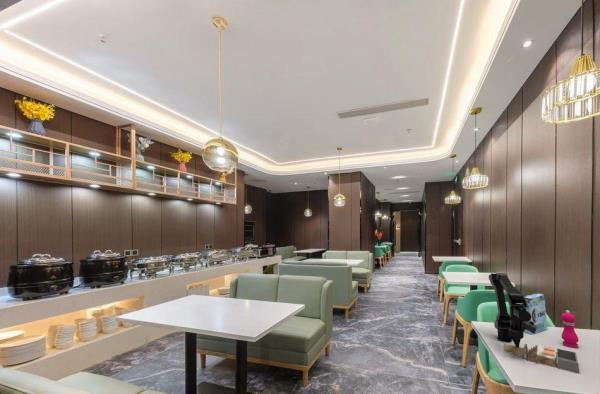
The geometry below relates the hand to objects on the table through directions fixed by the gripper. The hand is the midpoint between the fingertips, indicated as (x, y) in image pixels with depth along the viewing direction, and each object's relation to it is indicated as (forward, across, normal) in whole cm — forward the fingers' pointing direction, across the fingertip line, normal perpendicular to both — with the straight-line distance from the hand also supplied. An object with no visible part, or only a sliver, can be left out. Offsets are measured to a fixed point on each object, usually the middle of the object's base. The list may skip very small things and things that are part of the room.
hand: (518, 345), depth 157 cm
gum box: (+5, +47, -6) cm, 48 cm away
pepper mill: (+4, +31, -22) cm, 38 cm away
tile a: (0, -3, -13) cm, 13 cm away
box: (+4, 0, -19) cm, 20 cm away
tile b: (0, +3, -13) cm, 13 cm away
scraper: (+4, 0, +2) cm, 5 cm away
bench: (+4, 0, -10) cm, 10 cm away
